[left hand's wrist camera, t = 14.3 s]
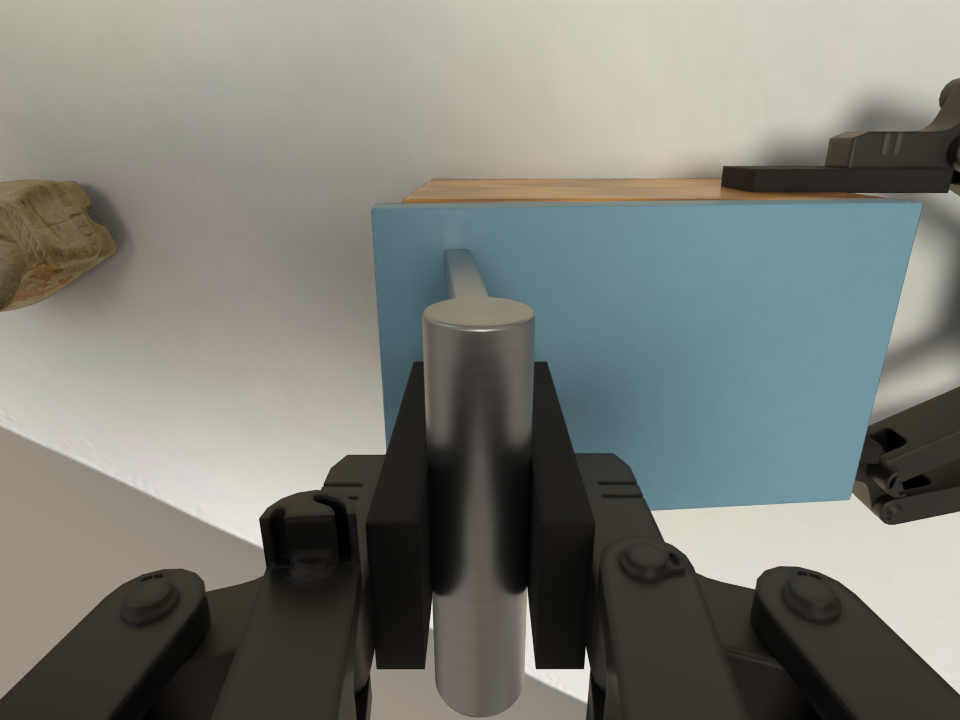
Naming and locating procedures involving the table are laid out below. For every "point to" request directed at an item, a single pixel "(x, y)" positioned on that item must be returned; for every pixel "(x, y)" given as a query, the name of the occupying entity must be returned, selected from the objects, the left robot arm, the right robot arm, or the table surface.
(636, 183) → the chest
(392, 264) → the lid
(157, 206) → the table surface
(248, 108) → the table surface
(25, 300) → the sculpture
